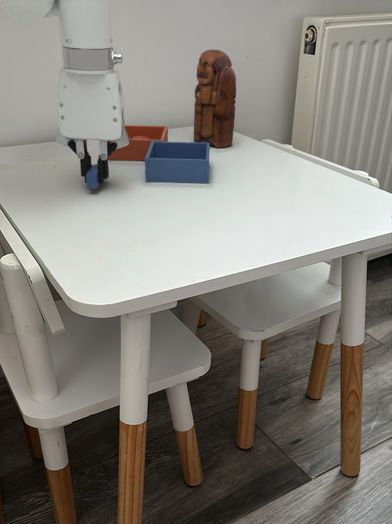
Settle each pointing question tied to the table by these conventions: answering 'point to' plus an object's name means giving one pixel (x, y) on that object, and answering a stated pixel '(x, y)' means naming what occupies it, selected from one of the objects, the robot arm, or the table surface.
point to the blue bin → (177, 162)
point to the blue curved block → (93, 177)
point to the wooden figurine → (214, 99)
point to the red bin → (139, 142)
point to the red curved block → (139, 137)
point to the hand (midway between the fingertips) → (95, 180)
